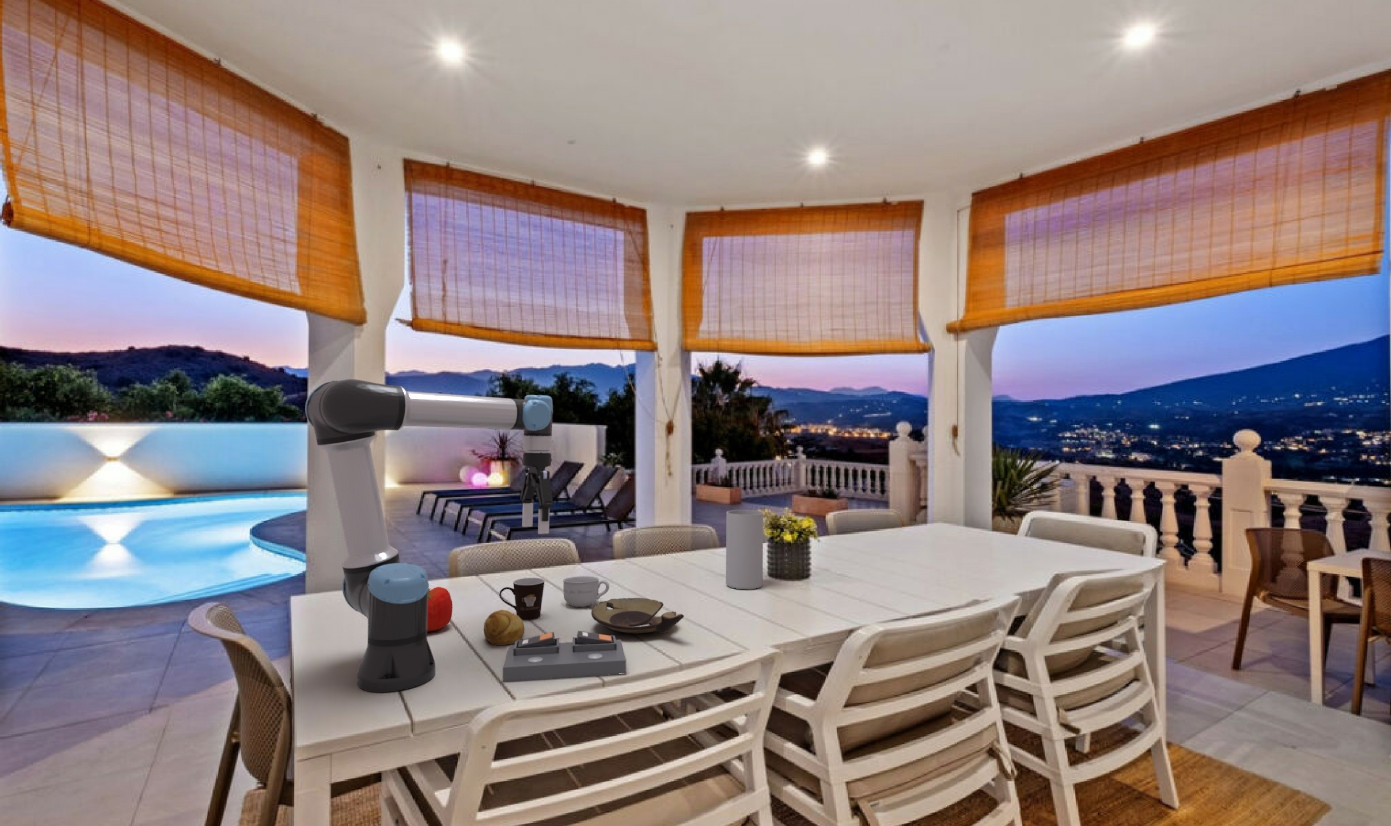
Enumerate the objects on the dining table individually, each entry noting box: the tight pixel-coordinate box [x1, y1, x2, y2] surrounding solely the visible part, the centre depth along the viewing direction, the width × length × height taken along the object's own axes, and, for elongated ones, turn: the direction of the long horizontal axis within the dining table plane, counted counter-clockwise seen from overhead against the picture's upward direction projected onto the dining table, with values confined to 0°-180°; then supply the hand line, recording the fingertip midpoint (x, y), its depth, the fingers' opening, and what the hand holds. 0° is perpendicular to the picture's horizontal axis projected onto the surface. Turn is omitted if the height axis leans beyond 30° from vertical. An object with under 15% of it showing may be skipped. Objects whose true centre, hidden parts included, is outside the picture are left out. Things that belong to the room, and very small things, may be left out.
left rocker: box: [518, 631, 556, 648], centre depth 150 cm, size 8×4×1 cm, turn 101°
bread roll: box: [483, 609, 526, 646], centre depth 166 cm, size 13×10×8 cm
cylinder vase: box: [725, 509, 764, 590], centre depth 223 cm, size 12×12×25 cm
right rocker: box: [576, 630, 613, 644], centre depth 152 cm, size 8×4×1 cm, turn 100°
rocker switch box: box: [502, 635, 627, 683], centre depth 148 cm, size 26×14×4 cm, turn 101°
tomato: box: [427, 586, 453, 633], centre depth 173 cm, size 14×13×10 cm
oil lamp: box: [590, 597, 685, 634], centre depth 174 cm, size 22×30×8 cm
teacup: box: [562, 575, 610, 608], centre depth 198 cm, size 14×11×8 cm
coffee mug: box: [499, 577, 545, 621], centre depth 185 cm, size 12×9×10 cm
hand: (535, 530), depth 178 cm, fingers open, 13 cm apart
